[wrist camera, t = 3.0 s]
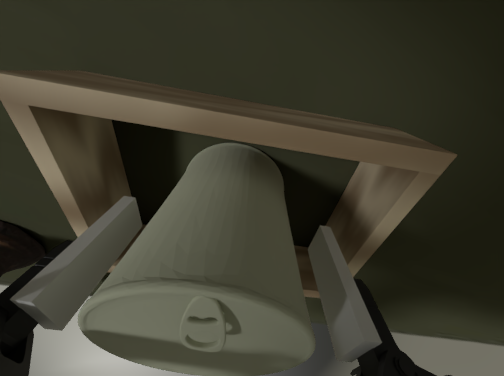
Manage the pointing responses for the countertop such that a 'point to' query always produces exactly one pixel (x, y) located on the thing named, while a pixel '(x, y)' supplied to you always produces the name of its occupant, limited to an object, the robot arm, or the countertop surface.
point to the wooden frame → (216, 125)
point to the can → (209, 277)
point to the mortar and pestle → (17, 248)
